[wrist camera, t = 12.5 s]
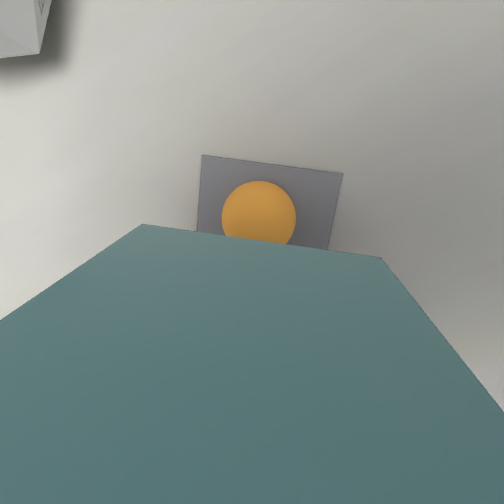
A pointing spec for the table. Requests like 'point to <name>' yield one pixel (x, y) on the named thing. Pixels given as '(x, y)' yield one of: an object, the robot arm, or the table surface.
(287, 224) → the ball
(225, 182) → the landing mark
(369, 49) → the table surface
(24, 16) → the die
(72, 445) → the teal toy cube
